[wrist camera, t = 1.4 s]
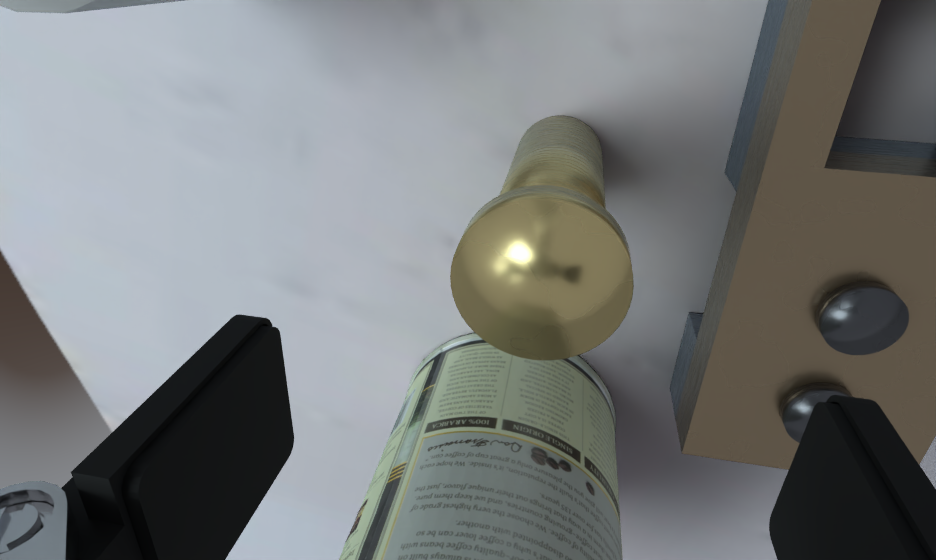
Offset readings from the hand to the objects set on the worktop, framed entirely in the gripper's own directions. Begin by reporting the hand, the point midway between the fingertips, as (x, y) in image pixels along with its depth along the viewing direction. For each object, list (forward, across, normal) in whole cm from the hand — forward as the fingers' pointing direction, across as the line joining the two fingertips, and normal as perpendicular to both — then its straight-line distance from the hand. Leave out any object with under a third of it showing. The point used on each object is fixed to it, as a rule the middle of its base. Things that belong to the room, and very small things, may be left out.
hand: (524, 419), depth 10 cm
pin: (+14, 0, -1) cm, 14 cm away
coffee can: (+14, +1, +12) cm, 19 cm away
